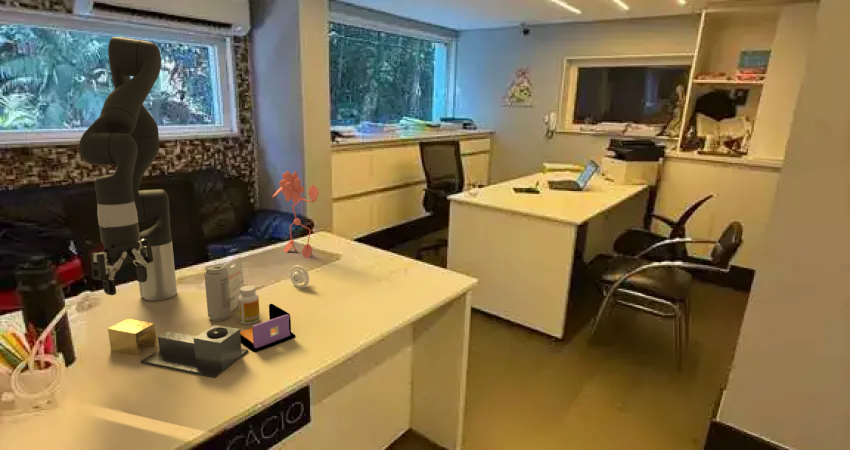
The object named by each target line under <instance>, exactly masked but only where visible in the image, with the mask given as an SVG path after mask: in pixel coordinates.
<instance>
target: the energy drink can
mask: <svg viewBox="0 0 850 450" xmlns="http://www.w3.org/2000/svg"><path fill="white" fill-rule="evenodd" d="M225 265H226V264H211V265H209V266H207V267H206V270H205V272H204V284H205V285H204V286H205V293H206V294H205V295H206V307H207V317H208V318H209V319H210V320H211V321H213V322H219V321H220V322H221V321H225V320H227V319H229V318H230V316H231V314H232V311H231V304H230V290H229V277H228V271H227V269H226V268H225Z"/></svg>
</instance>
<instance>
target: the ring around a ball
mask: <svg viewBox="0 0 850 450" xmlns="http://www.w3.org/2000/svg"><path fill="white" fill-rule="evenodd" d="M297 269H298V270H297ZM295 270H296V271H295ZM289 278H290V281H291V283H292V284H293V286H295V287H297V288H301V289H305V288H306V287H307V286H308V285H309V283H310V276H309V273H308V270H307V269H306V268H305V267H304V266H302V265H299V264H297V265H293V266H292V267H291V269H290V270H289ZM302 283H304V284H302ZM301 284H302V285H301Z"/></svg>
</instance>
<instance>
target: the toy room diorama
mask: <svg viewBox="0 0 850 450" xmlns="http://www.w3.org/2000/svg"><path fill="white" fill-rule="evenodd" d="M268 315H269V320H266V321H265V320H264V321H262V322H259V323H257V324H254V325H252V327H251V328H247V329H245V330H242V331H241V330H240V337H241V345H243V346H244V347H245V348H246V349H248V350H250V351H251V352H253V353H259V352H261V351H264V350H267V349H270V348H273V347H275V346H277V345H281V344H282V343H285V342H288V341H290V340H293V339H295V338H296V335H295V334H294V333H293V332H292V323H291V321H292V320H291V314H290V313H289V312H287V311H286V310H284V309H282V308H280V307H279V306H277V305H275V304H273V303H269V305H268Z"/></svg>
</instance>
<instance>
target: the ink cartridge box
mask: <svg viewBox="0 0 850 450" xmlns="http://www.w3.org/2000/svg"><path fill="white" fill-rule="evenodd" d="M233 264H235V265H233ZM224 265H225V268H226V269H227V271H228V277H229V290H230V304H231V312H232V311H234V310H235V309H237V308H239V307H238V297H239V296H240V295H241V294H240V288H241V287H244V286H245V284H244V283H245V282H244V270H243V269H244V268H243V263H242V257H240V256H239V257H236V258H235V259H234V260H233V259H232V260H231V261H230V262H228V263H225V264H224Z"/></svg>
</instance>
